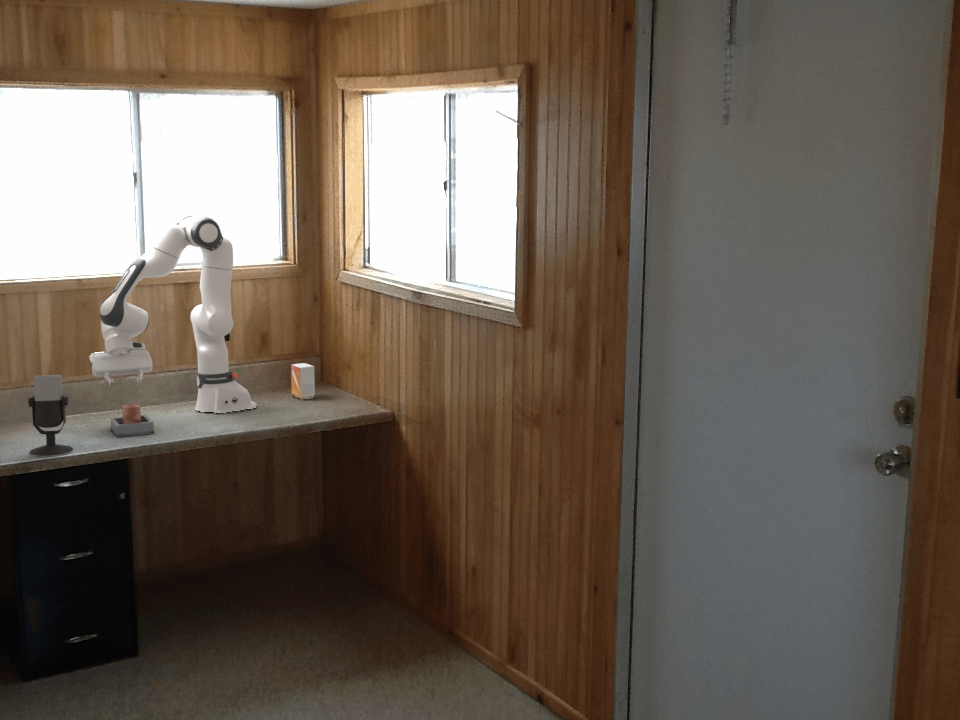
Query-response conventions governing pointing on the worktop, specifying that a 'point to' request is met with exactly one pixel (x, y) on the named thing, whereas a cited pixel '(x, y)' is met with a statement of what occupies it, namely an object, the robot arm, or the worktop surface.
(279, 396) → the worktop surface
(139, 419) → the red block
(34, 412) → the microphone
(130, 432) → the bin
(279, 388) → the worktop surface
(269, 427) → the worktop surface
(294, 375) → the small box
